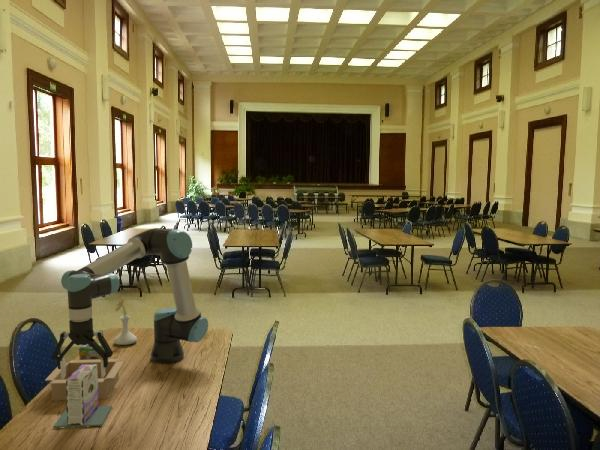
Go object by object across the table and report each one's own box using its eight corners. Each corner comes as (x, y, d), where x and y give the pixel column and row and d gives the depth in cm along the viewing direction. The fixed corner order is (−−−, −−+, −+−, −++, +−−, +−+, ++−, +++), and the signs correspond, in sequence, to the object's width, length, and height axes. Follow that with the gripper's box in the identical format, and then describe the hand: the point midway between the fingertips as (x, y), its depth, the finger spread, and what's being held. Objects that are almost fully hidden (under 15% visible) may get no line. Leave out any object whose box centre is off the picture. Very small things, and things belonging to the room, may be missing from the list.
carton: (126, 376, 217) (125, 358, 216) (112, 401, 194) (111, 381, 193) (64, 378, 214) (63, 360, 213) (42, 403, 191) (41, 383, 190)
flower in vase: (116, 339, 263) (115, 292, 261) (139, 339, 265) (138, 292, 262) (110, 348, 251) (109, 299, 248) (134, 347, 252) (133, 298, 249)
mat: (112, 407, 189) (112, 405, 189) (101, 426, 175) (101, 424, 175) (67, 409, 187) (67, 407, 187) (53, 428, 173) (53, 426, 173)
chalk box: (101, 374, 219) (100, 341, 218) (79, 374, 218) (78, 341, 217) (107, 366, 228) (106, 334, 227) (85, 366, 227) (84, 334, 226)
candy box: (83, 406, 188) (82, 363, 186) (99, 406, 188) (98, 363, 186) (66, 425, 174) (65, 379, 172) (83, 425, 174) (82, 379, 172)
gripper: (120, 314, 182) (122, 370, 185) (47, 316, 179) (50, 373, 182) (115, 320, 175) (117, 379, 177) (39, 323, 172) (42, 382, 175)
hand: (83, 376), depth 180 cm, fingers open, 13 cm apart
